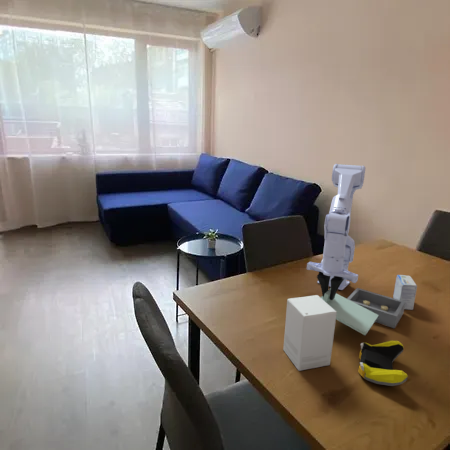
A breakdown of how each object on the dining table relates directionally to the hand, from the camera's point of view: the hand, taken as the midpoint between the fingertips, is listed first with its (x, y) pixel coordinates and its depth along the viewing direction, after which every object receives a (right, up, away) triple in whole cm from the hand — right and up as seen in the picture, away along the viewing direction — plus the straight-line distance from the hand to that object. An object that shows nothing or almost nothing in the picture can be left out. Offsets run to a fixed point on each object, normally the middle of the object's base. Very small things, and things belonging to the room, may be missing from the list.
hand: (328, 297), depth 108 cm
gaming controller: (+7, -14, -19) cm, 25 cm away
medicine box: (+28, -5, +13) cm, 31 cm away
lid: (+4, -4, -2) cm, 6 cm away
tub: (+16, -6, +7) cm, 19 cm away
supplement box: (-10, -12, -15) cm, 22 cm away
